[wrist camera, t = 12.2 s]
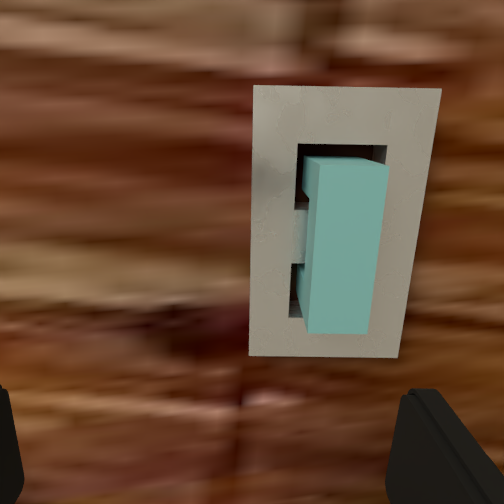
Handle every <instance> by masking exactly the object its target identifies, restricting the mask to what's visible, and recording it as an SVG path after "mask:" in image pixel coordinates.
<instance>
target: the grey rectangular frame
mask: <svg viewBox="0 0 504 504" xmlns="http://www.w3.org/2000/svg"><path fill="white" fill-rule="evenodd" d="M441 91H442V89H428V88H374V87H321V86H267V85H254V86H253V139H252V199H251V259H250V319H249V356H297V357H371V358H398V352H399V346H400V340H401V334H402V328H403V322H404V316H405V310H406V304H407V298H408V291H409V285H410V279H411V273H412V267H413V261H414V255H415V249H416V243H417V237H418V231H419V225H420V219H421V213H422V207H423V201H424V195H425V188H426V182H427V176H428V170H429V164H430V158H431V152H432V146H433V140H434V134H435V128H436V122H437V116H438V110H439V104H440V98H441ZM298 143H301V144H358V145H373V153H372V161H374V162H377V163H381V164H384V165H387V166H390V167H389V174H388V182H387V190H386V197H385V205H384V212H383V220H382V227H381V235H380V242H379V250H378V257H377V265H376V273H375V280H374V288H373V295H372V303H371V310H370V318H369V325H368V333H367V334H314V333H307V330H306V326H305V322H304V319H303V315H302V311H301V308H300V304H299V301H289V296H290V277H291V263H305V256H306V241H307V226H308V212H309V202H295V184H296V166H297V147H298Z"/></svg>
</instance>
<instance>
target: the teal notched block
mask: <svg viewBox="0 0 504 504" xmlns="http://www.w3.org/2000/svg"><path fill="white" fill-rule="evenodd" d="M389 167H390V166H387V165H384V164H381V163H377V162H374V161H370V160H367V159H363V158H360V157H349V156H304V160H303V176H302V190H303V191H304V192H305V194H306V195H307V196H308V197H309V212H308V226H307V241H306V256H305V263H297V276H296V293H297V296H298V300H299V304H300V308H301V311H302V315H303V319H304V322H305V326H306V330H307V333H314V334H367V333H368V325H369V318H370V310H371V303H372V295H373V288H374V280H375V273H376V265H377V257H378V250H379V242H380V235H381V227H382V220H383V212H384V205H385V197H386V190H387V182H388V174H389Z"/></svg>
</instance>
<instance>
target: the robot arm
mask: <svg viewBox="0 0 504 504" xmlns="http://www.w3.org/2000/svg"><path fill="white" fill-rule="evenodd" d="M23 484H24V472H23V467H22V462H21V456H20V451H19V446H18V441H17V436H16V430H15V425H14V420H13V415H12V409H11V404H10V399H9V394H8V391H7V390H6V389H2V386H1V385H0V504H14V503H15V502H16V500H17V498H18V497H19V495H20V493H21V491H22V488H23ZM385 486H386V492H387V495H388V498H389V501H390V503H391V504H504V476H503V475H502V473H501V472H500V471H499V469H498V468H497V467H496V465H495V464H494V463H493V461H492V460H491V459H490V458H489V457H488V456H487V455H486V453H485V452H484V451H483V449H482V448H481V447H480V445H479V444H478V443H477V441H476V440H475V439H474V438H473V436H472V435H471V434H470V432H469V431H468V430H467V428H466V427H465V426H464V424H463V423H462V422H461V420H460V419H459V418H458V416H457V415H456V414H455V413H454V411H453V410H452V409H451V407H450V406H449V405H448V403H447V402H446V401H445V399H444V398H443V397H442V395H441V394H440V393H439V392H438V391H437V390H436V389H413V388H412V389H410V390H409V391H408V394H407V395H403V396H402V397H401V400H400V405H399V410H398V416H397V421H396V426H395V431H394V436H393V442H392V447H391V452H390V457H389V462H388V468H387V473H386V479H385Z"/></svg>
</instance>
